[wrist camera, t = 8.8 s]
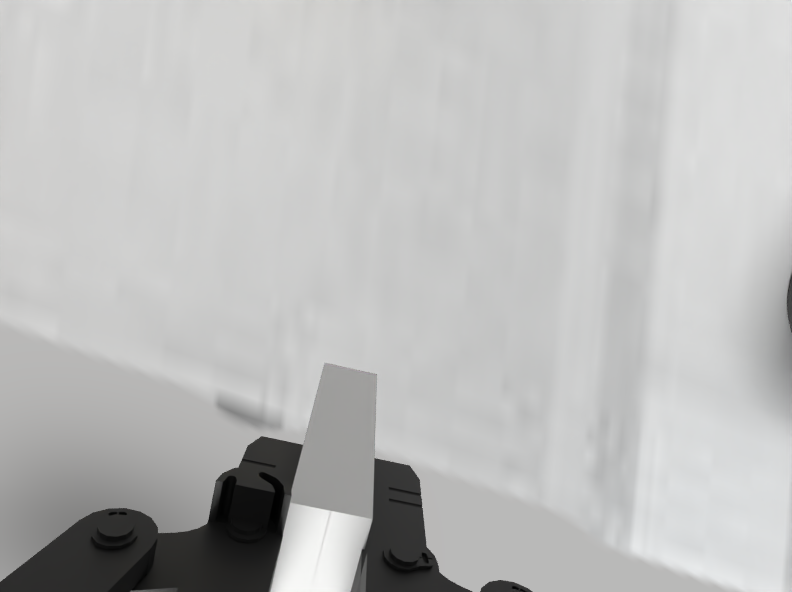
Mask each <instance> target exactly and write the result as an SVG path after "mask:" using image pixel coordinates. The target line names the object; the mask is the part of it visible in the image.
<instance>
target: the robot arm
mask: <svg viewBox="0 0 792 592" xmlns="http://www.w3.org/2000/svg"><path fill="white" fill-rule="evenodd" d="M788 319H789V324H790V328H791V332H792V278H791V282H790V286H789V292H788ZM376 388H377V374H373V373H369V372H364V371H360V370H355V369H351V368H346V367H342V366H337V365H333V364H328V363H324V367H323V371H322V375H321V379H320V383H319V386H318V390H317V394H316V398H315V402H314V406H313V409H312V413H311V417H310V421H309V425H308V429H307V432H306V436H305V440H304V444H303V445H301V444H296V443H291V442H287V441H282V440H277V439H272V438H267V437H263V436H262V437H260V438H259V439H257V440H256V441H254V442H253V443H251V444H250V445H248V447H247V449H246V452H245V454H244V456H243V459H242V461H241V463H240V465H239V468H234V469H231V470H229V471H227V472H224V473H222V475H221V476H220V477H219V478H218V479H217V480H216V483H215V489H214V494H213V499H212V504H211V509H210V515H209V520H208V523H207V524H206V525H204V526H202V527H200V528H198V529H194V530H191V531H187V532H178V533H158V527H157V526H156V524H155V523H154V521H153V520H152V518H150V517H149V516H147V515H145V514H143V513H141V512H139V511H135V510H130V509H126V508H119V509H106V510H102V511H98V512H94V513H92V514H90V515H88V516H86V517H84V518H83V519H81V520H79V521H78V522H77V523H75V524H74V525H73V526H72V527H70V528H69V529H68V530H66V531H65V532H64V533H62V534H61V535H60V536H59V537H57V538H56V539H55V540H54V541H52V542H51V543H50V544H49V545H47V546H46V547H45V548H43V549H42V550H41V551H39V552H38V553H37V554H36V555H34V556H33V557H32V558H30V559H29V560H28V561H27V562H25V563H24V564H23V565H21V566H20V567H19V568H18V569H16V570H15V571H14V572H13V573H11V574H10V575H9V576H7V577H6V578H5V579H3V580H2V581H1V582H0V592H472V591H470V590H468V589H465V588H463V587H461V586H459V585H457V584H455V583H453V582H451V581H450V580H448V579H447V578H446V577H444V576H443V575H442V574H441V573H440V572H439V566H438V563H437V561H436V558H435V556H434V555H433V554H432V553H431V551H430V550H429V549H428V548H427V547H426V537H425V529H424V518H423V508H422V499H421V489H420V480H419V478H418V477H417V475H416V474H415V472H414V471H413V470H412V468H411V467H410V466H409V465H404V464H399V463H395V462H390V461H385V460H380V459H375V458H374V456H375V422H376ZM480 592H532V591H531V590H529V589H528V588H526V587H523V586H521V585H519V584H517V583H514V582H509V581H503V580H498V581H492V582H489V583H487V584H486V585H485V586H483V587H482V588H481V591H480Z"/></svg>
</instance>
